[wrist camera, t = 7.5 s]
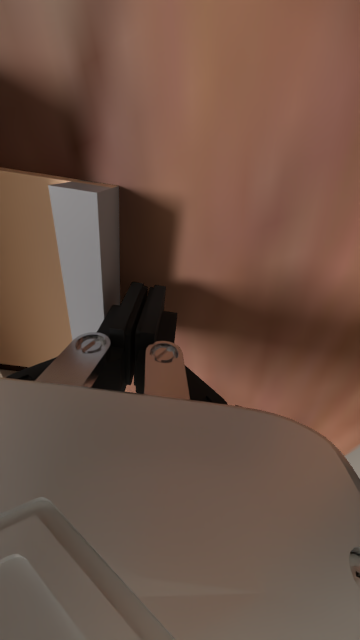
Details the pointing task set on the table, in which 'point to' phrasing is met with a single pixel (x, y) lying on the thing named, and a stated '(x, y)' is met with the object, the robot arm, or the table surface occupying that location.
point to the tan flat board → (54, 262)
